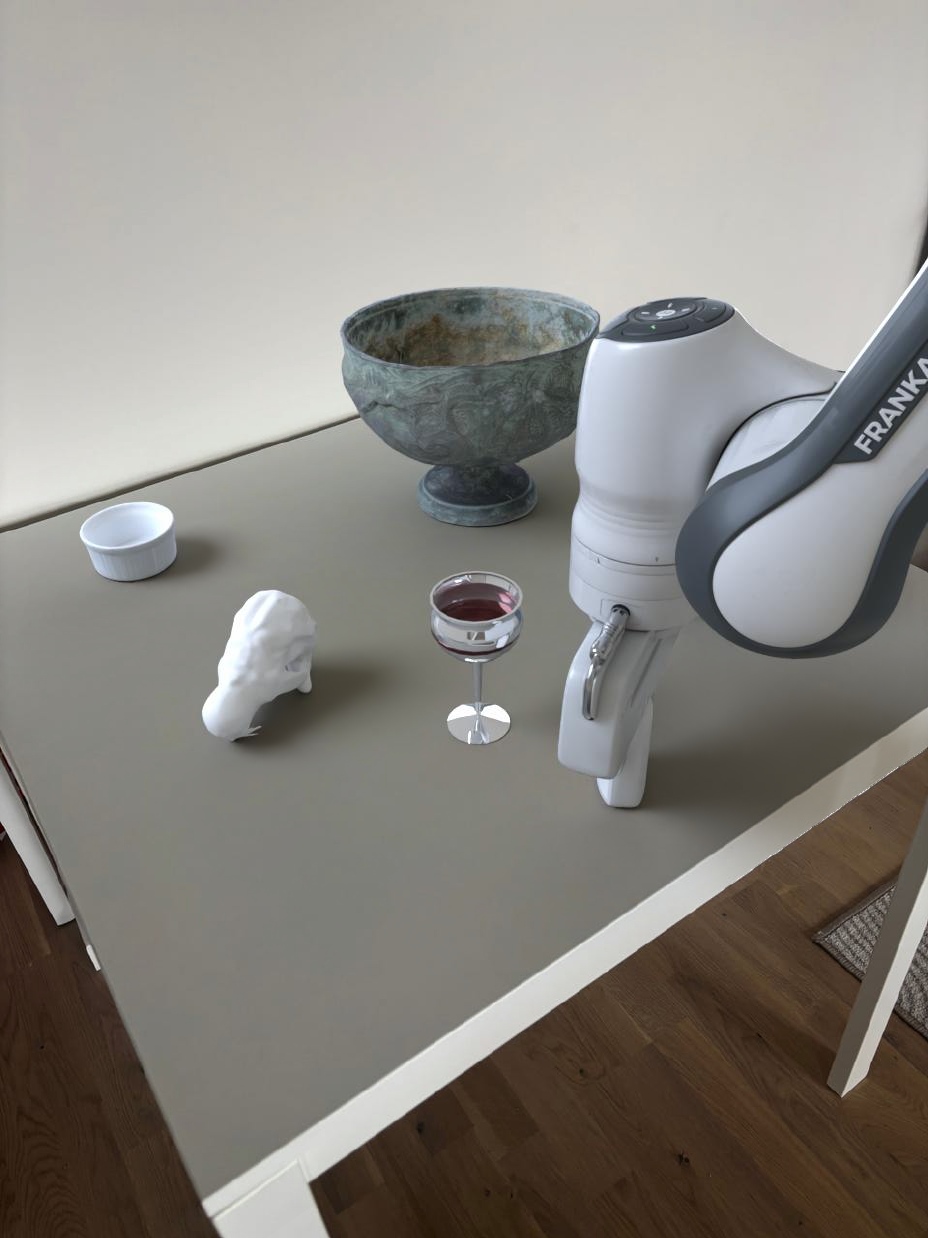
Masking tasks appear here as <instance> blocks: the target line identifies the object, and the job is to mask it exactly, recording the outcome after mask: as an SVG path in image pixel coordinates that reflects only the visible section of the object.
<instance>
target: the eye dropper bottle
mask: <svg viewBox="0 0 928 1238" xmlns="http://www.w3.org/2000/svg"><path fill="white" fill-rule="evenodd" d="M653 718H654V704H653V700H652V699H651V698H650V701H649V703H648V705H647V707H646V710H645V712H644V714H643V716H642V719H641V721H640V723H639V726H638V728H637V730H636V732H635V735H634V737H633V739H632V742H631V744H630V746H629V748H628V751H627V755H626V756H627V759H626V762H625V765H624V767H623V769H622V772H621V774H620V775H619V776H615V778H613V779H611V780H606V779H601V778H596V783H597V789H598V790H599V793H600V795H601V798H602V799H603V801H604V802H605V804H606V805H608V806H609V807H614V808H635V807H637V806H639V805H640V803H641V802H642V799H643V797H644V793H645V788H646V787H645V786H646V778H647V769H648V762H649V761H648V760H649V754H650V745H651V737H652V727H653Z"/></svg>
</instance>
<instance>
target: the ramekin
mask: <svg viewBox="0 0 928 1238" xmlns="http://www.w3.org/2000/svg"><path fill="white" fill-rule="evenodd" d="M79 536H80V540H81V541H82V543H83V544H84V545H85V546H86V550H87V551H88V555H89V557H90V559H91V562H92V565H93V567H94V569H95V571H97V573H98V574H100V575H101V576H102V577H104V578H106V579H109V580H113V581H119V582H133V581H140V580H143V579H148V578H150V577H153V576H156V575H157V574H160V573H161V572H163V571H165V570H166V569H167V568H169V567H170V566H171V565H172V564H173V562H174V561H175V560H176V557H177V553H178V549H177V541H176V535H175V516H174V513H173V512H172V511H171V510H170V508H168V507H167V506H165V505H162V504H159V503H156V502H150V501H132V502H125V503H120V504H115V505H112V506H108V507H107V508H104V509H102V510H99V511H98V512H95V513H94V514H93V515H91V516H90V517H88V518H87V519H86V520H85V521H84V522H83V524H82V525H81V527H80V530H79Z"/></svg>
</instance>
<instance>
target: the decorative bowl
mask: <svg viewBox="0 0 928 1238" xmlns="http://www.w3.org/2000/svg"><path fill="white" fill-rule="evenodd" d="M600 324H601V314H600V313H599V311H598V310H596V309H593V308H592V306H590V304H587V303H586V302H584V301H582V300H579V299H576V298H575V297H572V296H568V295H565V294H563V293H557V292H556V293H555V292H551V291H548V290H540V289H536V288H527V287H517V286H516V287H515V286H489V285H488V286H455V287H454V286H453V287H440V288H432V289H426V290H419V291H414V292H408V293H403V294H399V295H395V296H391V297H388V298H385V299H384V298H383V299H380V300H376V301H374V302H372V303H370V304H368V305H366V306H362V307H360V308H359V309H357V310H356V311H355V312H353V313H352V314H351V315H349V316H348V317H346V319H345V320H344V321H343V322H342V323H341V326H340V329H339V334H340V338H341V341H342V346H343V351H344V355H343V357H342V361H341V375H342V380H343V386H344V388H345V390H346V392H347V394H348V397H350V400H351V401H352V403H353V404H354V406H355V407H356V410H357V413H358V415H359V417H360V418H361V420H362V421H363V422H364V423H365V424H366V425H367V426H368V428H369V429H370V430H372V431H373V433H375V435H377V437H378V438H379V439H380V440H381V441H383V443H384V444H386V445H388V447H390V448H391V449H392V450H394V451H395V452H398V453H399V454H401V455H402V456H403V455H404V456H405V457H407V458H409V459H411V460H414V461H416V462H419V463H422V464H425V465H428V466H429V465H431V466H433V467H431V468H430V469H428V471H427V472H426V473H425V474H424V475H422V477H421V478H420V480H419V482H418V484H417V488H416V498H417V501H418V502H417V503H418V505H419V507H420V509H422V511H423V512H425V513H426V514H427V515H428V516H430V517H431V518H433V519H436V520H437V521H440V522H443V523H448V524H453V525H456V526H465V527H486V526H487V527H489V526H490V527H491V526H497V525H501V524H505V523H508V522H512V521H514V520H517V519H520V518H522V517H524V516H526V515H528V514H529V513H530V512H531V511H532V510H533V509H534V508H535V506H536V505H537V503H538V499H539V498H538V485H537V483H536V481H535V479H534V478H533V477H532V475H530V474H529V473H528V472H527V471H526V470H525V469H524V468H523V467H521V466H520V465H518V463H520V462H522V461H523V460H524V459H528V458H530V457H533V456H535V455H537V454H539V453H541V452H543V451H545V450H547V449H549V448H551V447H553V446H554V445H556V444H558V443H559V442H561V441H562V440H564V439H566V438H569V437H570V436H571V435H572V434H573V433H574V432H575V430H576V428H577V416H578V407H579V399H580V391H581V385H582V379H583V373H584V368H585V363H586V359H587V355H588V352H589V349H590V346H591V344H592V342H593V340H594V338H595V337H596V336H597V334H598V333H599V332H600Z"/></svg>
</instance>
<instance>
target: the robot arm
mask: <svg viewBox="0 0 928 1238" xmlns="http://www.w3.org/2000/svg"><path fill="white" fill-rule="evenodd" d="M575 430H576V431H575V444H574V464H575V469H576V473H577V477H578V480H579V494H578V498H577V502H576V504H575V506H574V509H573V512H572V516H571V517H572V518H571V528H570V529H571V530H570V534H571V535H570V551H569V572H568V573H569V574H568V575H569V576H568V592H569V594H570V597H571V599H572V601H573V602H574V603H575V605H576V606H577V607H578V608H579V609H580V610H581V611H582V612H583V613H585V614H586V615H588V617H589V619H590V621H591V622H592V625H591V626H590V629H589V630H588V632H587V634H586V635H585V637H584V639H583V641H582V642H581V644H580V646H579V648H578V649H577V651H576V653H575V655H574V657H573V659H572V661H571V663H570V667H569V670H568V673H567V675H566V676H567V677H566V681H565V684H564V691H563V697H562V705H561V713H560V723H559V732H558V734H559V735H558V745H557V759H558V762H559V763H560V764H561V765H562V767H564V768H566V769H568V770H569V771H573V772H575V773H578V774H581V775H583V776H587V777H592V778H596V779H597V778H601V779H606V780H611V779H613V778H615V776H619V775H620V774H621V772H622V769H623V767H624V765H625V762H626V759H627V756H626V755H627V751H628V748H629V746H630V744H631V742H632V739H633V737H634V735H635V732H636V730H637V728H638V726H639V723H640V721H641V719H642V716H643V714H644V712H645V710H646V707H647V705H648V703H649V701H650V698H651V699H652V701H653V700H654V698H655V692H656V687H657V684H658V683H659V680H660V678H661V676H662V673H663V672H664V668H665V666H666V665H667V662H668V660H669V657H670V655H671V654H672V653H671V652H672V650H673V648H674V646H675V644H676V641H677V639H678V637H679V635H680V633H681V630H682V629H683V628H684V626H685V625H687V624H689V623H692V622H693V621H695V620H696V619H698V618H699V617H700V618H701V619H702V620H703V622H705V624H707V625H708V626H709V628H711V629H712V630H713V631H715V632H716V633H717V634H718V635H720V637H722V638H724V639H725V640H726V641H728V642H730V643H732V644H734V645H736V646H737V647H739V648H742V649H743V650H746V651H749V652H752V653H755V654H759V655H761V656H765V657H766V656H767V657H770V658H771V657H772V658H776V659H777V658H778V659H779V658H780V659H788V660H806V659H808V660H809V659H818V658H825V657H830V656H835V655H838V654H841V653H844V652H847V651H850V650H852V649H854V648H857V647H858V646H861V645H862V644H863V643H866V642H867V641H868V640H870V639H871V638H872V637H874V636H875V635H876V634H877V633H878V632H879V631H880V630H881V629H882V628H883V627H884V626H885V625H886V624H887V623H888V621H889V620H890V618H891V617H892V615H893V613H894V611H895V610H896V608H897V606H898V604H899V601H900V599H901V596H902V594H903V590H904V587H905V584H906V580H907V576H908V574H909V573H908V572H909V569H910V565H911V562H912V559H913V556H914V553H915V550H916V547H917V546H918V545H917V544H918V541H919V540H920V538H921V536H922V534H923V532H924V530H925V528H926V526H927V525H928V257H927V259H926V260H925V262H924V263H923V264H922V266H921V268H920V270H919V271H918V273H917V274H916V275H915V277H914V278H913V280H912V281H911V283H910V284H909V285H908V286H907V288H906V290H905V291H904V292H903V294H902V295H901V296H900V298H899V299H898V300H897V302H896V303H895V305H894V306H893V307H892V309H891V310H890V312H888V314H887V316H886V317H885V318H884V319H883V321H882V323H881V324H880V325H879V326H878V327H877V329H876V330H875V331H874V333H873V334H872V336H871V337H870V339H868V341H867V342H866V344H865V345H864V347H863V348H862V349H861V351H860V352H859V353H858V355H857V356H856V358H854V360H853V362H852V363H851V364H850V366H849V367H848V369H847V370H846V371H845V370H837V369H832V368H830V367H827V366H824V365H821V364H819V363H816V362H814V361H812V360H809V359H806V358H804V357H802V356H800V355H798V354H796V353H794V352H792V351H790V350H788V349H786V348H784V347H783V346H782V345H779V344H778V343H776V342H774V341H773V340H771V339H770V338H768V337H767V336H765V335H764V334H762V333H761V332H760V331H759V330H757V329H756V328H755V327H753V326H752V324H750V323H749V321H748V320H747V319H746V317H745V316H744V315H743V314H742V313H741V312H740V310H739V309H738V308H737V307H735V306H733V305H732V304H730V303H729V302H726V301H723V300H719V299H714V298H708V297H706V296H677V297H668V298H661V299H657V300H653V301H652V300H651V301H647V302H646V303H643V304H641V305H637V306H634V307H631V308H630V307H629V308H628V309H627V310H625V311H623V312H621V313H620V314H619V315H617V316H616V317H614V318H613V319H611V320H610V321H609V322H608V323H607V324H606V325H605V326H604V327H603V328H602V329H601V330H599V333H598V334H597V336H596V337H595V338H594V340H593V342H592V344H591V346H590V349H589V352H588V355H587V359H586V363H585V368H584V373H583V379H582V385H581V391H580V399H579V407H578V416H577V427H576V429H575Z"/></svg>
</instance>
